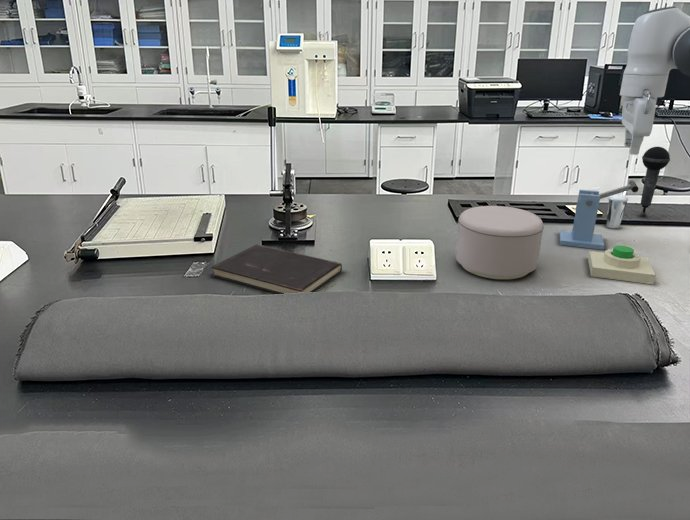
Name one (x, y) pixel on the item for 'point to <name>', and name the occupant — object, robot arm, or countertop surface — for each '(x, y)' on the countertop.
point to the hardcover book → (277, 270)
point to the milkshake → (616, 210)
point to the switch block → (620, 267)
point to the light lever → (620, 190)
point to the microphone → (652, 173)
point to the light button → (623, 252)
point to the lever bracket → (584, 223)
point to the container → (498, 241)
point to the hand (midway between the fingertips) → (630, 150)
